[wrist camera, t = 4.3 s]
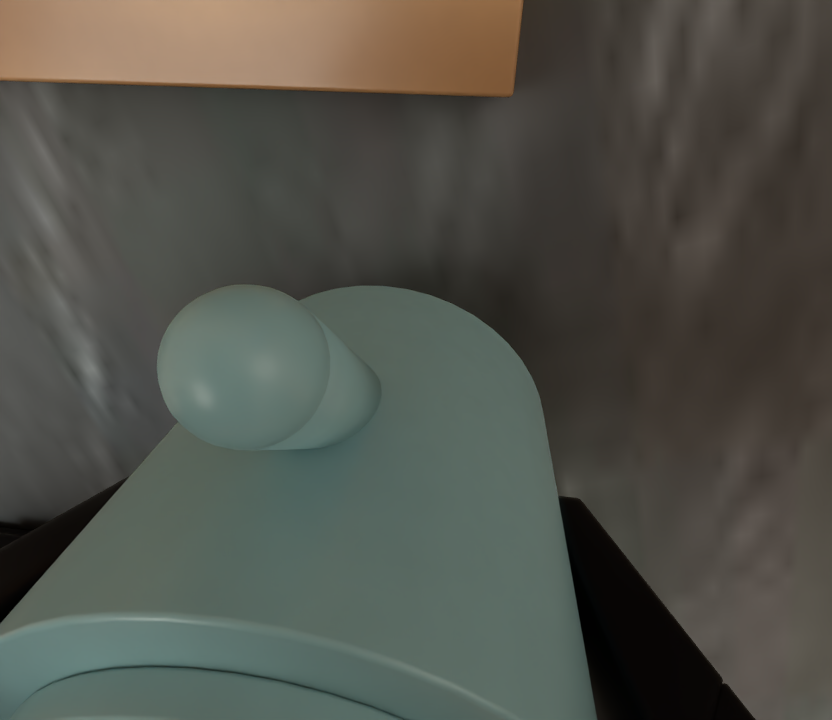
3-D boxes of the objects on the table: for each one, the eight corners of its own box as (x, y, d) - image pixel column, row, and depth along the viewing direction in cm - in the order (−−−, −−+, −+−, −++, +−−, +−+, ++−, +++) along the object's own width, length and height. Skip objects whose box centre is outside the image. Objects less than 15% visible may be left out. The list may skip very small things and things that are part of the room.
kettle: (509, 611, 13) (536, 1203, 6) (269, 580, 14) (52, 1092, 7) (596, 173, 8) (1833, 1256, 1) (183, 154, 8) (-1519, 605, 1)
